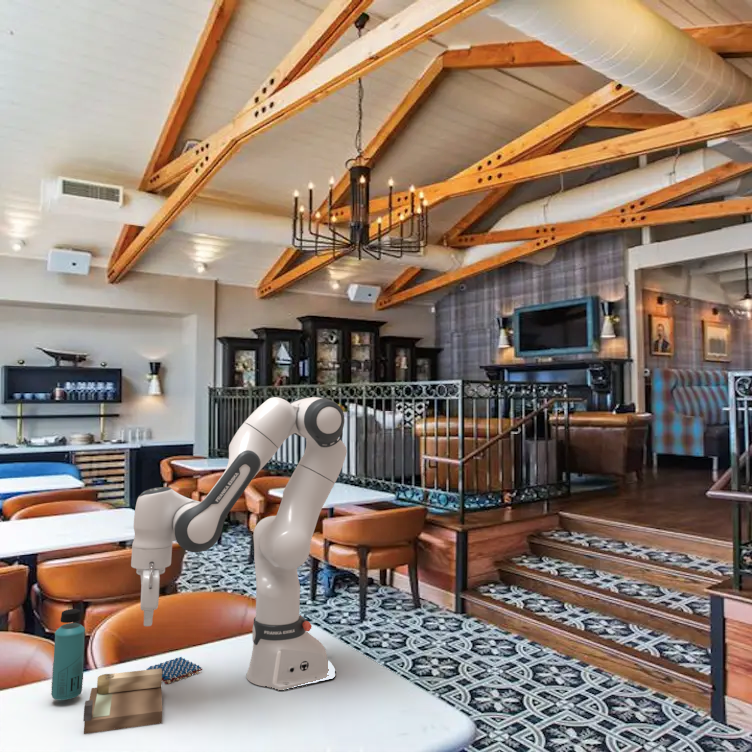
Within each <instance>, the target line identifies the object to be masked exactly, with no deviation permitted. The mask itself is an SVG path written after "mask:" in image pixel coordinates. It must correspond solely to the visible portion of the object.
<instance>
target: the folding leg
mask: <svg viewBox="0 0 752 752" xmlns="http://www.w3.org/2000/svg"><path fill="white" fill-rule="evenodd" d="M162 682H163V681H162V668H160V669H151V670H146V669H142V670H141V669H140V670H133V671H132V670H131V671H125V672H114V673H105V674H101V675H99V676H97V683H96V684H97V685H96V688H97V693H98V694H107V693H113V692H122V691H130V690H139V689H147V688H156V687H161V688H162V685H163V683H162Z"/></svg>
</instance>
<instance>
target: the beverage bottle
mask: <svg viewBox="0 0 752 752" xmlns="http://www.w3.org/2000/svg"><path fill="white" fill-rule="evenodd" d="M81 617H82V616H81V609H78V608H70V609H69V608H68V609H65V610H63V611H62V612H61V616H60V622H61V623H64V624H62V625H61V626H60V627H58V628H57V629H56V630H55V632H54V648H53V649H54V650H53V662H52V671H51V675H52V676H51V685H50V686H51V693H50V695H51V697H52V698H53V699H54V700H56V701H64V700H65V701H66V700H71V699H74V698H77V697H78V696H80V695H81V693H82V691H83V684H84V673H85V672H84V667H85V666H84V656H85V647H86V643H85V635H86V634H85V632H86V628H85V627H84V626H83V625H82V624H80V623H77V622H79V621H80V620H81V619H82V618H81Z"/></svg>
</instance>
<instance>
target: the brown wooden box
mask: <svg viewBox="0 0 752 752" xmlns="http://www.w3.org/2000/svg"><path fill="white" fill-rule="evenodd" d="M162 697H163V695H162V686H161V687H156V688H147V689H139V690H130V691H122V692H113V693H107V694H98V693H97V687H91V689H90V694H89V698H88V700H85V702H84V706H83V709H84V710H83V722H84V723H83V724H84V726H83V727H84V728H83V735H87V734H94V733H101V732H107V731H108V732H109V731H115V730H121V729H129V728H137V727H144V726H152V725H159V724H163V700H162V699H163V698H162Z"/></svg>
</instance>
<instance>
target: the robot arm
mask: <svg viewBox="0 0 752 752" xmlns="http://www.w3.org/2000/svg"><path fill="white" fill-rule="evenodd" d="M344 426H345V413H344V410H343V409H342V407H341V406H340V405H339V404H338V403H336V402H335V401H334V400H332V399H329V398H322V397H317V396H312V397H299V398H297V399H295V400H292V401H290V402H289V401H287V400H286V399H284V398H281V397H278V396H275V397H274V396H272V397H270V398H267V399H266V400H265V401H263V403H262V404H260V405H259V406H258V407H256V409H254V411H253V412H252V413H251V414H250V415H249V416H248V417H247V418H246V419H245V421H243V423H242V424H241V426H240V427H239V428H238V429H237V431H236V433H235V434H234V435H233V437H232V439H231V441H230V443H229V445H228V461H227V466H226V468H225V470H224V472H223V473H222V475H221V476H220V477H219V479H218V480H217V481H216V483H215V485H213V487H212V488H211V490H210V491H209V492H208V494H207V495H206V496H205V497H204V499H203V500H201V501H199V500H196V499H192V498H189V497H186V496H185V495H182V494H180V493H179V492H177V491H175V490H174V489H173V488H171V487H169V486H163V487H161V486H160V487H153V488H148V489H147V490H144V491H143V492H141V493H140V495H138V497H137V499H136V504H135V510H134V517H133V531H134V539H133V541H132V545H131V560H130V566H131V568H133V569H136V574H137V575H139V576H140V585H141V588H140V606H139V607H140V610H141V611H143V626H144V627H151V626H152V625H153V617H154V611H155V610H157V609H158V607H159V598H160V597H159V596H160V580H161V577H160V575H163V574H165V572H166V568H168V567H170V566H171V564H172V557H173V556H172V555H173V554H172V552H173V542H174V541H176V542H177V544H178V545H179V546H180V548H182V549H183V550H185V551H187V552H189V553H202V552H206V551H207V550H209V549H211V548H212V547H213V546H214V545H216V543H218V540H219V539H220V537H221V533H222V531H223V526H224V524H225V521H226V519H227V516H228V514H229V513H230V512H231V511H232V509H233V507H234V506H235V505H236V503H237V501H239V499H240V497H241V496H242V495H243V493H244V492H245V491H246V489H247V488H248V486H249V485H250V484H251V483H252V481H253V479H254V478H255V477H256V475H258V473H260V471H261V470H262V469H263V468H264V467H265V466H266V465H267V464H268V462H269V461H270V460H271V459H272V458H273V457H274V455H276V453H277V452H278V450H279V449H280V448H281V446H282V445H283V443H285V441H286V440H287V439H288V438H289V437H290V436H292V435H296V436H297V437H301V438H304V439H305V442H306V445H305V450H304V454H303V455H302V456H301V458H300V459H299V462H298V464H297V466H296V467H295V468H294V470H293V473H292V474H291V476H290V478H289V479H288V482H287V483H286V486H284V489H283V492H282V498H281V502H280V504H279V508H278V511H277V513H276V515H270V516H267V517H264V518H262V519H261V520H259V521H258V522H257V524H256V526H254V529H253V534H252V535H253V549H254V550H253V552H254V553H253V555H254V556H253V557H254V572H255V582H256V583H255V585H256V591H255V592H256V594H255V595H256V596H255V617H254V618H253V622H252V623H253V625H252V643H253V645H252V652H251V658H250V663H249V667H248V670H247V673H246V679H247V680H248V682H250V683H252V684H254V685H256V686H259V687H265V686H267V687H266V688H271V687H272V688H271V689H273V688H275V689H274V690H276V689H278V690H277V691H279V690H283V689H287V688H292V687H294V686H298V685H301V684H305V683H308V682H313V681H316V680H320V679H323V678H326V677H327V676H329V675H327V673H328V671H329V669H328V660H329V659H328V654H327V651H326V648H325V646H324V644H322V642H321V641H320V640H319V639H317V638H316V637H315V636H313V635H312V634H311V633H309V631H311V629H312V624H311V623H310V621H308V620H307V619H306V618H305V617H303V616H302V615H300V604H301V603H300V601H301V600H300V599H301V598H300V597H301V585H300V580H299V574H298V568H300V567H301V566H302V565H304V564H305V562H306V561H307V560H308V558H309V555H310V551H311V542H312V538H313V535H314V532H315V529H316V526H317V523H318V520H319V517H320V514H321V512H322V509H323V507H324V505H325V503H326V501H327V500H328V497H329V495H330V494H331V491H332V490H333V488H334V485H335V484H336V482H337V480H338V478H339V475H340V474H341V471H342V468H343V466H344V463H345V460H346V457H347V453H348V452H347V451H348V449H347V447H346V444H345V443H344V441H342V440H341V439H343V436H344V435H343V432H344V431H343V430H344V428H345V427H344ZM327 659H328V660H327Z"/></svg>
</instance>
